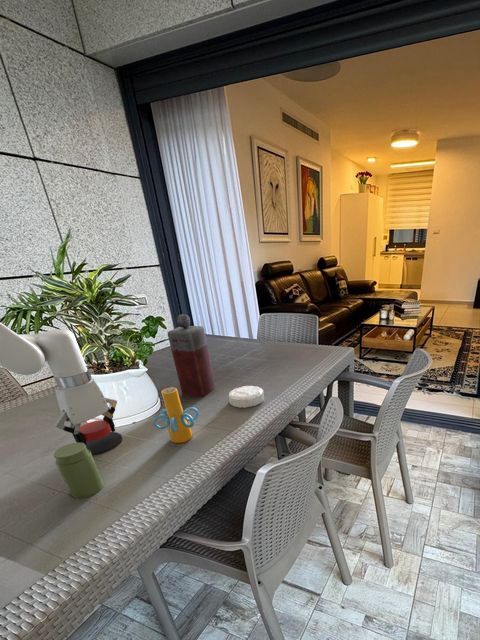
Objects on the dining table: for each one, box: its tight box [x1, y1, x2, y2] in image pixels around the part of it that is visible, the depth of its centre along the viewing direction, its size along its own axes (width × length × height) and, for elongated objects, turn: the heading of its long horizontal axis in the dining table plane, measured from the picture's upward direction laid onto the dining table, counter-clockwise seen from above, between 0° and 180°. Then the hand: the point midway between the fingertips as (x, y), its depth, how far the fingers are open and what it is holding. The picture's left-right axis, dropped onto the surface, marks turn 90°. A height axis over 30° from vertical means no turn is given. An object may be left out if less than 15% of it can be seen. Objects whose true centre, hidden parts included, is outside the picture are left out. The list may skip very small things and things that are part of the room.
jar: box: [53, 442, 105, 499], centre depth 80 cm, size 7×7×11 cm
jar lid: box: [79, 419, 112, 441], centre depth 98 cm, size 8×8×2 cm
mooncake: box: [227, 385, 265, 409], centre depth 122 cm, size 12×12×4 cm
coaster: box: [86, 431, 123, 456], centre depth 100 cm, size 12×12×1 cm
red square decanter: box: [167, 314, 217, 398], centre depth 125 cm, size 9×11×28 cm
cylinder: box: [152, 387, 200, 444], centre depth 98 cm, size 12×10×15 cm
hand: (97, 436), depth 100 cm, fingers closed on jar lid, 7 cm apart
